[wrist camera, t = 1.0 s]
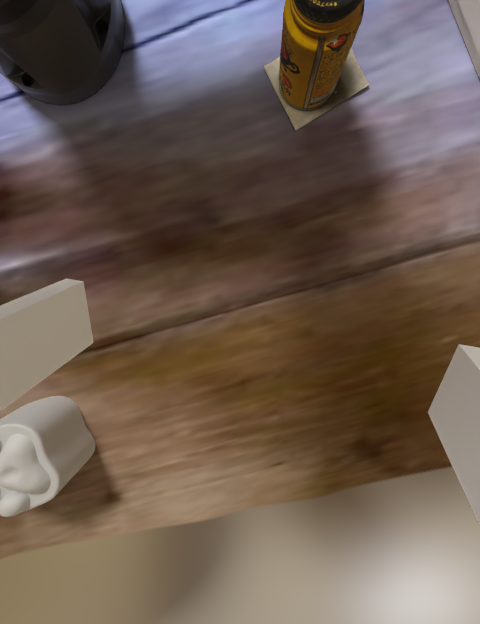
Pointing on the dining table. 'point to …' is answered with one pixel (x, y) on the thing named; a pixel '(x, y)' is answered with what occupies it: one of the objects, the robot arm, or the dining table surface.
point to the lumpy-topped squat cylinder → (40, 452)
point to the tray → (469, 26)
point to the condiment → (317, 57)
